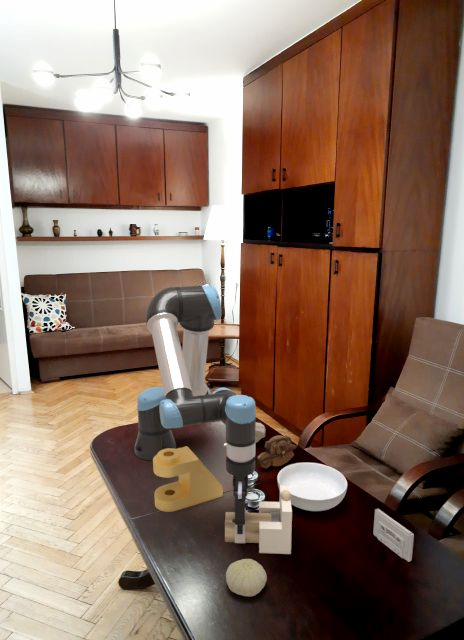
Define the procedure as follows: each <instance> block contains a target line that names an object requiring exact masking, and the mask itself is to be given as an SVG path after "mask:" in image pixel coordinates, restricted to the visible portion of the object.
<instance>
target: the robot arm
mask: <svg viewBox="0 0 464 640" xmlns="http://www.w3.org/2000/svg"><path fill="white" fill-rule="evenodd" d="M149 301H150V302H149V304H148V306H147V308H146V311H145V324H146V328H147V330H148V332H149V333H151V336H152V341H153V346H154V351H155V356H156V361H157V365H158V370H159V374H160V381H161V384H162V385H161V386H160V385H159V386H154V387H149V388H147V389H145V390H143V391H141V392H140V393H139V395H138V396H137V399H136V400H137V403H136V410H137V423H138V425H137V427H138V434H137V437H136V440H135V444H134V454H135V456H136V457H137V458H139V459H141V460H144V461H153V458H154V457H155V456H156V455H157V453H158V452H159V451H161V450H163V449H167V448H173V449H177V443H176V440H175V437H174V435H173V432H172V429H181V428H183V427H184V428H185V427H189V426H195V425H204V424H205V425H206V424H210V423H211V424H213V423H218V422H222V423H223V424H224V426H225V442H224V443H223V447H224V448H226V449H225V452H226V453H225V454H226V456H225V470H226V472H227V474H229V475H230V476H231V475H232V487H233V496H234V512H235V519H232V522H234V523H235V542H234V544H246V543H245V513H247V510H246V508H249V502H246V500H247V498H246V497H247V496H248V486H249V476H250V475H252V474H253V473H254V472H255V469H256V449H257V448H256V440H255V427H256V422H257V421H256V419H257V409H256V401H255V399H254V398H253V397H251V396H248V395H245V394H238V393H237V394H236V392H234V391H233V390H231V389H230V388H227V387H219V388H216V389H215V390H214V391H213V392H212V391H211V389H210V388H209V386H208V385H207V384H206V382H205V379H206V378H205V376H206V368H207V365H206V364H207V358H208V357H207V355H208V347H209V336H210V335H209V334H210V331H211V330H213V329H214V327H215V321H216V322H217V321H219V320H220V319H221V317H222V303H221V298H220V295H219V293H218V290H217V289H216V287H214V286H212V285H202V284H201V285H192V286H191V285H190V286H188V285H187V286H169V287H165V288H163V289H161V290H160V291H158V292H157V293H156V294H155V295H154V296H153V297H152V299H151V300H149ZM178 325H179V326H180V327H181V329H183V334H182V335H183V336H182V345H181V341H180V337H179V333H178V329H177V326H178Z"/></svg>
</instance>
